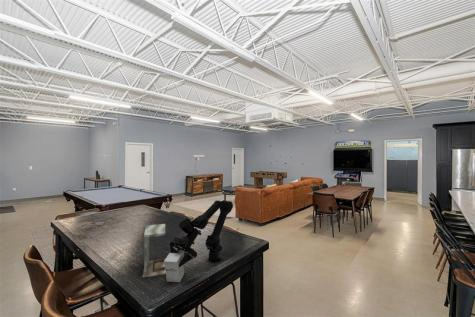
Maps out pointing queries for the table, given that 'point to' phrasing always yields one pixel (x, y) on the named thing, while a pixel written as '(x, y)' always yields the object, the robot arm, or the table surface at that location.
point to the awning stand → (150, 266)
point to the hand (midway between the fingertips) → (173, 264)
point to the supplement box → (174, 267)
